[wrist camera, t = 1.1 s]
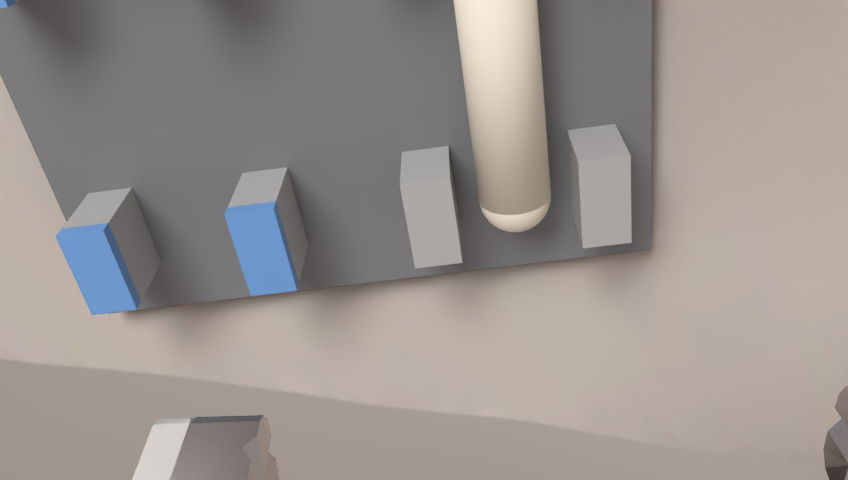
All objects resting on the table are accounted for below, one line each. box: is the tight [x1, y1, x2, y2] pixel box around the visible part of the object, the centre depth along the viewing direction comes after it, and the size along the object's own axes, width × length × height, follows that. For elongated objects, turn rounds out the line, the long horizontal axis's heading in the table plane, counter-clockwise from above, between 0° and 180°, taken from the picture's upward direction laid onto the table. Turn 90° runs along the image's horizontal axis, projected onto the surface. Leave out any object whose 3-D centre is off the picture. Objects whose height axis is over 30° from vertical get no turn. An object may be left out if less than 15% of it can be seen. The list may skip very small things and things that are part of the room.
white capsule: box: [453, 0, 551, 232], centre depth 30 cm, size 16×3×3 cm, turn 8°
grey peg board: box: [0, 0, 652, 315], centre depth 30 cm, size 26×22×6 cm
